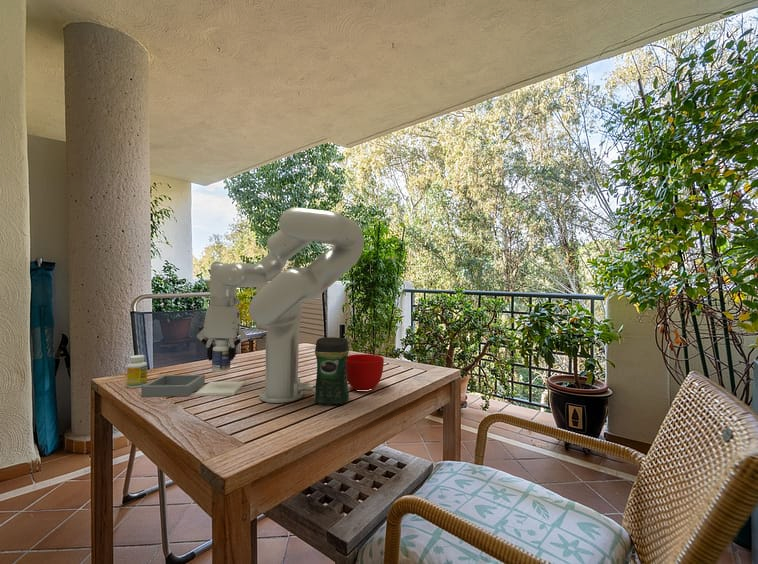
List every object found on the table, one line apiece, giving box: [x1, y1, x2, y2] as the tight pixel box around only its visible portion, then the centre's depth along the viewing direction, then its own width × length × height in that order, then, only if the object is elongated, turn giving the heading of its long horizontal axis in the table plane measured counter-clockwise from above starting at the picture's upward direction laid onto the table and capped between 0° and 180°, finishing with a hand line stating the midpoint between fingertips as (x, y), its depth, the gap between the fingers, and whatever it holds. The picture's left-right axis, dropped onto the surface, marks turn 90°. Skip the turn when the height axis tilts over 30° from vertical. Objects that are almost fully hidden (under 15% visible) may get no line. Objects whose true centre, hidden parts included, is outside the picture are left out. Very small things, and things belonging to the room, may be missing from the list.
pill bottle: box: [211, 339, 231, 373], centre depth 113 cm, size 5×5×10 cm
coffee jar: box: [314, 336, 350, 405], centre depth 104 cm, size 10×8×19 cm
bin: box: [140, 374, 206, 398], centre depth 112 cm, size 13×13×3 cm
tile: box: [194, 381, 246, 397], centre depth 113 cm, size 11×12×1 cm
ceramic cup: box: [346, 353, 385, 390], centre depth 119 cm, size 13×17×10 cm
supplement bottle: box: [126, 354, 148, 389], centre depth 116 cm, size 5×5×10 cm
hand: (221, 359), depth 113 cm, fingers closed on pill bottle, 5 cm apart
